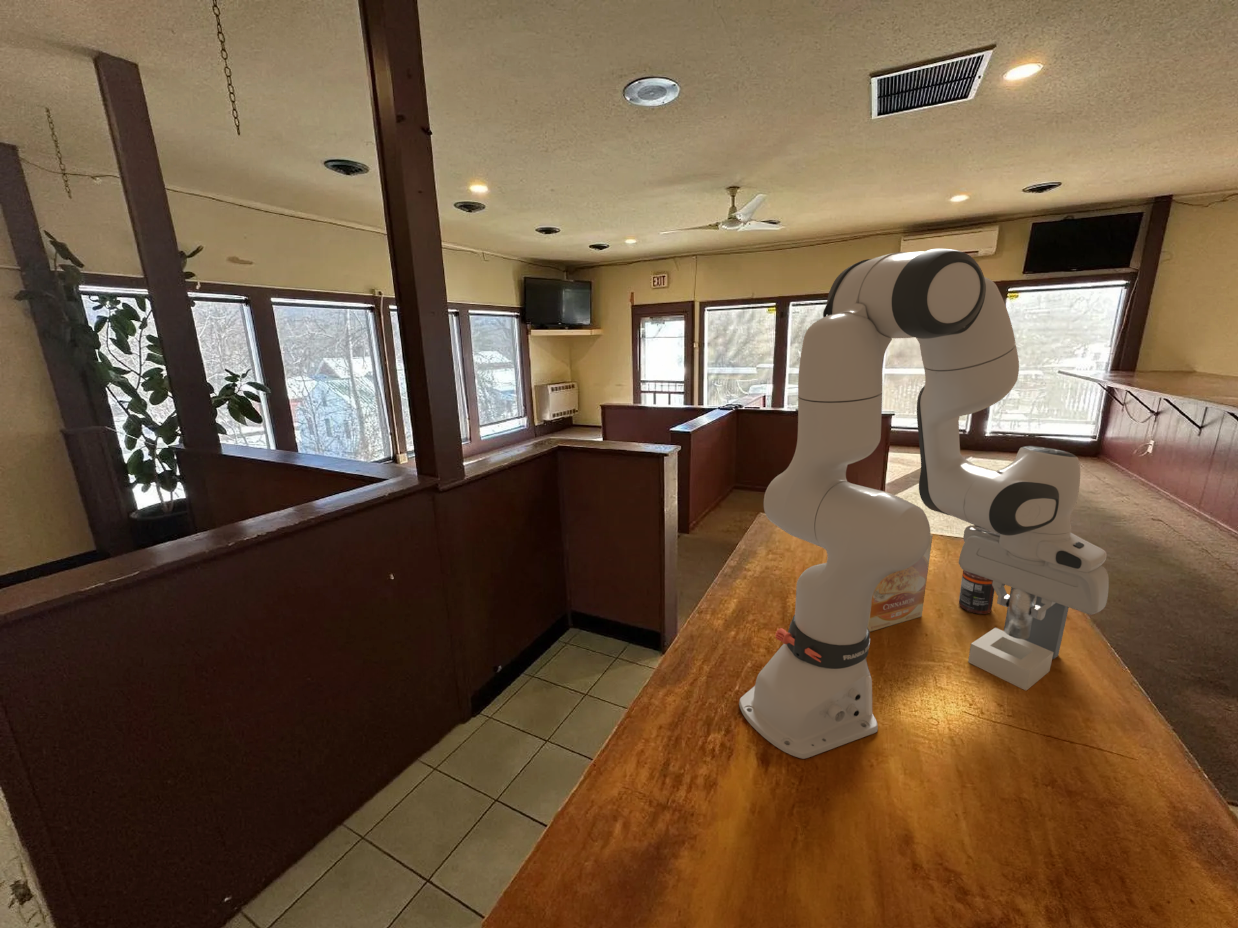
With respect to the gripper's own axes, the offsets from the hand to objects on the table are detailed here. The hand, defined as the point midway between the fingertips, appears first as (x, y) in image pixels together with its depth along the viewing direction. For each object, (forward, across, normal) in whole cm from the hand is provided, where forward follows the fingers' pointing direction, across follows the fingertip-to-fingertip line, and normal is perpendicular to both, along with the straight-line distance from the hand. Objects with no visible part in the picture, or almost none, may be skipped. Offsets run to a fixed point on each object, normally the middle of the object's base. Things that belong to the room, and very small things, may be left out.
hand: (1020, 610), depth 86 cm
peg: (+5, 0, 0) cm, 5 cm away
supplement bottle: (+12, -13, +15) cm, 24 cm away
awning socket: (+12, 0, +3) cm, 12 cm away
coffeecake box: (+12, -22, -4) cm, 25 cm away
